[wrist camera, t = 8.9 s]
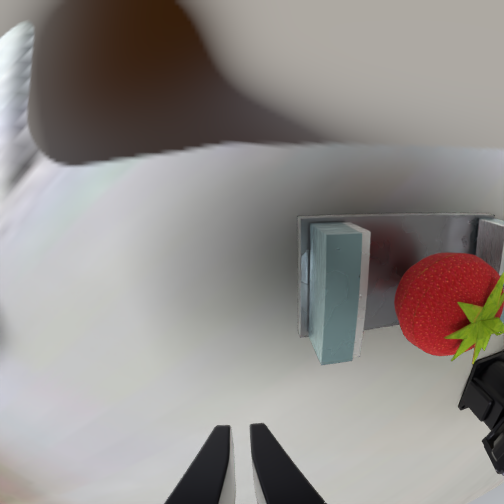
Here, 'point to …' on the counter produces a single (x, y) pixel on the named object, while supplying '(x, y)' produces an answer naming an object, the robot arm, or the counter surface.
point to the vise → (402, 253)
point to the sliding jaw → (338, 289)
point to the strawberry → (450, 304)
